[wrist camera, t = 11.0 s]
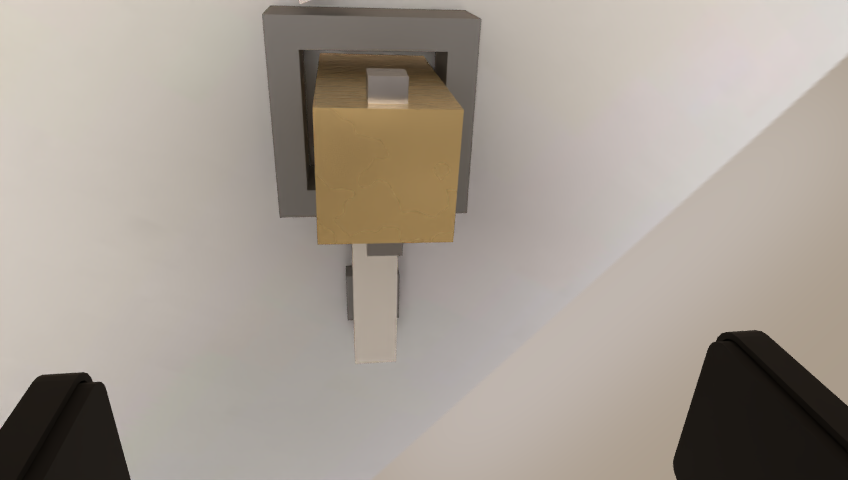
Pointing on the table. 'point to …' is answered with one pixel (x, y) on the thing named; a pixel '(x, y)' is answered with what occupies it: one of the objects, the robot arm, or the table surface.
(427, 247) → the table surface
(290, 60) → the socket
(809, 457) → the robot arm
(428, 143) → the tan wooden block
